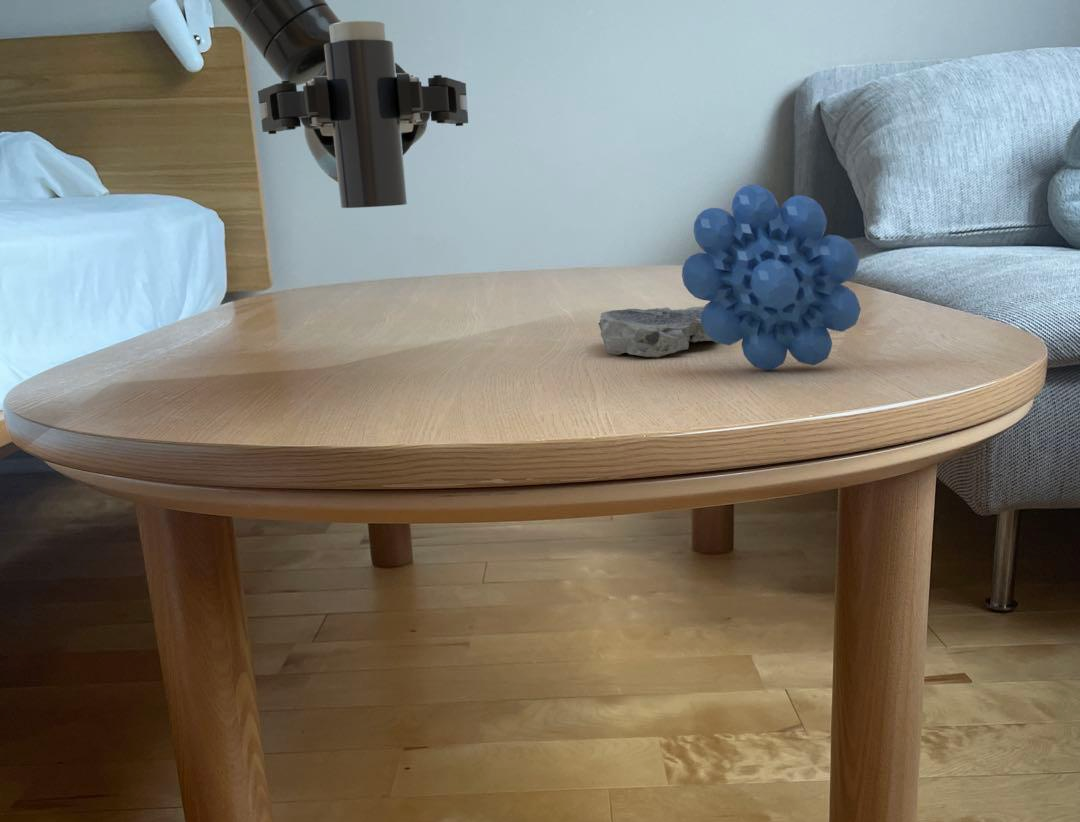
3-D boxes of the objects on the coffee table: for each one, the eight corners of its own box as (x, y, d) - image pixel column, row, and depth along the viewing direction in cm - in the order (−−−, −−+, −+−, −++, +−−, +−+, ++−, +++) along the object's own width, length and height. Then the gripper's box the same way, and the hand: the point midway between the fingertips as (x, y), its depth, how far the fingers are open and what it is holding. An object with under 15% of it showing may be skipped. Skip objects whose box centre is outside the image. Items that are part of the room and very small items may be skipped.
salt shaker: (340, 208, 62) (320, 20, 58) (341, 207, 65) (323, 30, 62) (408, 205, 62) (392, 18, 59) (405, 203, 66) (391, 28, 62)
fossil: (684, 321, 74) (569, 289, 79) (671, 377, 76) (559, 342, 81) (749, 317, 84) (642, 288, 88) (736, 366, 85) (632, 336, 90)
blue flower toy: (681, 384, 68) (680, 189, 64) (682, 366, 74) (681, 187, 70) (867, 380, 66) (878, 179, 62) (852, 361, 72) (861, 178, 68)
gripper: (257, 61, 73) (225, 26, 57) (460, 54, 75) (485, 18, 59) (271, 174, 75) (244, 172, 59) (467, 165, 77) (493, 160, 61)
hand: (364, 95), depth 59 cm, fingers closed on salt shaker, 4 cm apart
